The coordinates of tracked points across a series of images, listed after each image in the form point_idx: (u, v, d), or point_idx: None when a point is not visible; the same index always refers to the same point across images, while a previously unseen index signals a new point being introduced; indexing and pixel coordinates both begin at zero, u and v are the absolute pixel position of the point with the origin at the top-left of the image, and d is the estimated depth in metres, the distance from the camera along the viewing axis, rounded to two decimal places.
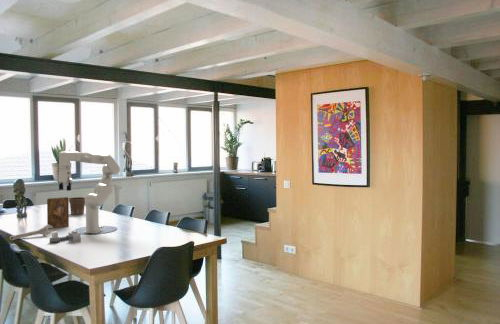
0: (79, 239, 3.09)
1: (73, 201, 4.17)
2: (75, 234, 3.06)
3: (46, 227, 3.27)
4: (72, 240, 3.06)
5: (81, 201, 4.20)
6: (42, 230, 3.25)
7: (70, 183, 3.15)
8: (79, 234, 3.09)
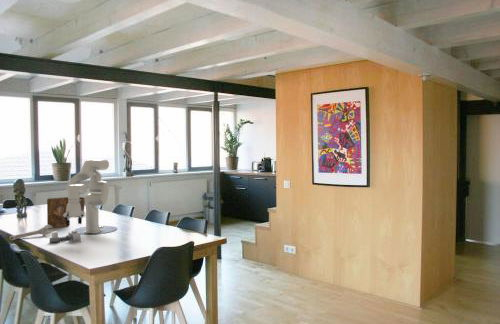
0: (79, 239, 3.09)
1: None
2: (75, 234, 3.06)
3: (46, 227, 3.27)
4: (72, 240, 3.06)
5: (81, 201, 4.20)
6: (42, 230, 3.25)
7: (82, 215, 3.14)
8: (79, 234, 3.09)
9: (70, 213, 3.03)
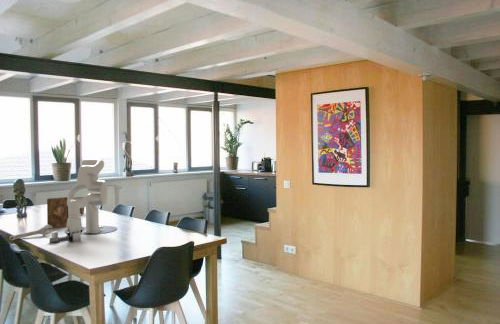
0: (79, 239, 3.09)
1: None
2: (75, 234, 3.06)
3: (46, 227, 3.27)
4: (72, 240, 3.06)
5: None
6: (42, 230, 3.25)
7: (81, 231, 3.14)
8: (79, 234, 3.09)
9: (70, 228, 3.04)
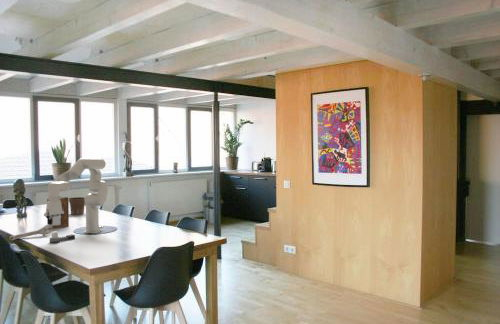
0: (59, 222, 3.05)
1: (73, 201, 4.17)
2: (55, 217, 3.02)
3: (46, 227, 3.27)
4: (52, 223, 3.01)
5: (81, 201, 4.20)
6: (42, 230, 3.25)
7: (61, 215, 3.09)
8: (59, 217, 3.05)
9: (50, 211, 3.00)
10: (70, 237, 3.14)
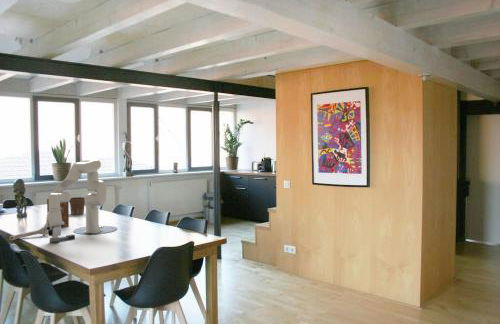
0: (59, 233, 3.06)
1: (73, 201, 4.17)
2: (55, 228, 3.03)
3: None
4: (52, 234, 3.02)
5: (81, 201, 4.20)
6: (42, 230, 3.25)
7: (61, 226, 3.10)
8: (59, 228, 3.05)
9: (50, 222, 3.00)
10: (70, 237, 3.14)
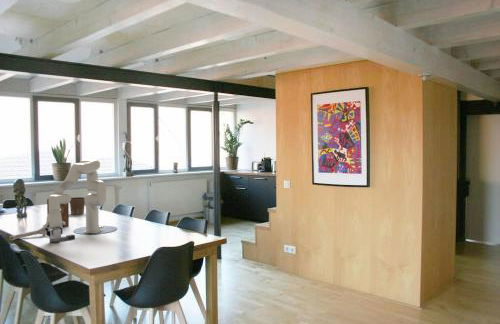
0: (59, 236, 3.06)
1: (73, 201, 4.17)
2: (55, 231, 3.03)
3: (46, 227, 3.27)
4: (52, 237, 3.02)
5: (81, 201, 4.20)
6: (42, 230, 3.25)
7: (63, 226, 3.11)
8: (59, 231, 3.06)
9: (50, 224, 3.01)
10: (70, 237, 3.14)
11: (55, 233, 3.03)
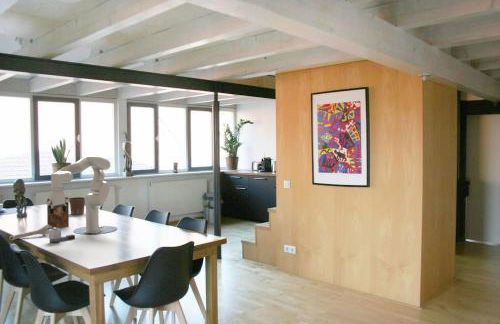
0: (59, 236, 3.06)
1: (73, 201, 4.17)
2: (55, 231, 3.03)
3: (45, 227, 3.27)
4: (52, 237, 3.02)
5: (81, 201, 4.20)
6: (41, 230, 3.25)
7: (66, 203, 3.14)
8: (59, 231, 3.06)
9: (53, 201, 3.03)
10: (70, 237, 3.14)
11: (55, 233, 3.03)
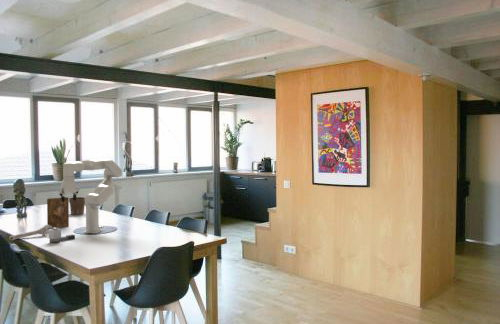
0: (59, 236, 3.06)
1: (73, 201, 4.17)
2: (55, 231, 3.03)
3: (45, 227, 3.27)
4: (52, 237, 3.02)
5: (81, 201, 4.20)
6: (41, 230, 3.25)
7: None
8: (59, 231, 3.06)
9: (65, 190, 3.15)
10: (70, 237, 3.14)
11: (55, 233, 3.03)
